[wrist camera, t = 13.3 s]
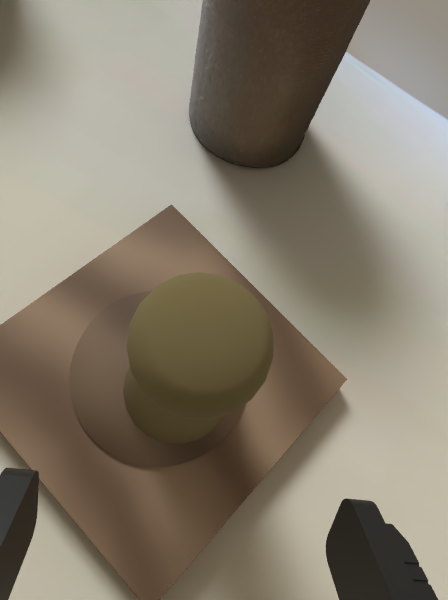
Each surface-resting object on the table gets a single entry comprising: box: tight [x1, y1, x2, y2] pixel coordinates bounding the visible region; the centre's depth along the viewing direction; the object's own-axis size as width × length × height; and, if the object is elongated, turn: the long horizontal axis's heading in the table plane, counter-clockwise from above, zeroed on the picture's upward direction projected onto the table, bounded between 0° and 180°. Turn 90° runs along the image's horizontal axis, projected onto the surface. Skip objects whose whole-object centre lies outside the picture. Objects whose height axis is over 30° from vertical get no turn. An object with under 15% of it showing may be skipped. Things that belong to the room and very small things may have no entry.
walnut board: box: [0, 205, 347, 600], centre depth 24 cm, size 16×16×2 cm
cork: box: [123, 272, 274, 444], centre depth 18 cm, size 6×6×11 cm
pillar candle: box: [189, 0, 370, 167], centre depth 27 cm, size 10×10×15 cm
